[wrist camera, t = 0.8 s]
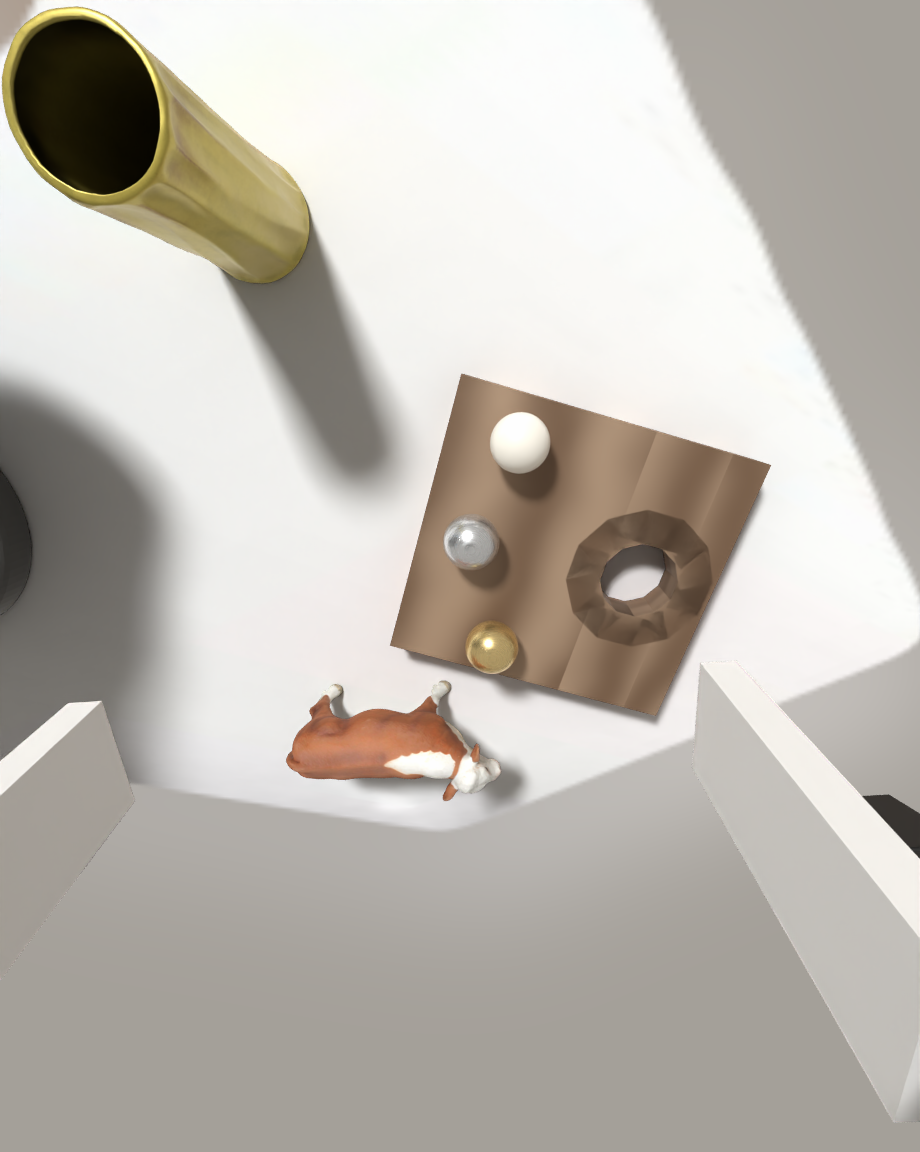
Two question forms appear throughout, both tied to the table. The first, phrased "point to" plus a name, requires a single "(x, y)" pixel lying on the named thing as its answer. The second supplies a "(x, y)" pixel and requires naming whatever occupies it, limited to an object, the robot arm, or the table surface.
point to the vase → (147, 146)
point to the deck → (575, 546)
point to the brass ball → (491, 647)
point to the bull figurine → (389, 746)
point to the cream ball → (520, 442)
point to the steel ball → (471, 542)
